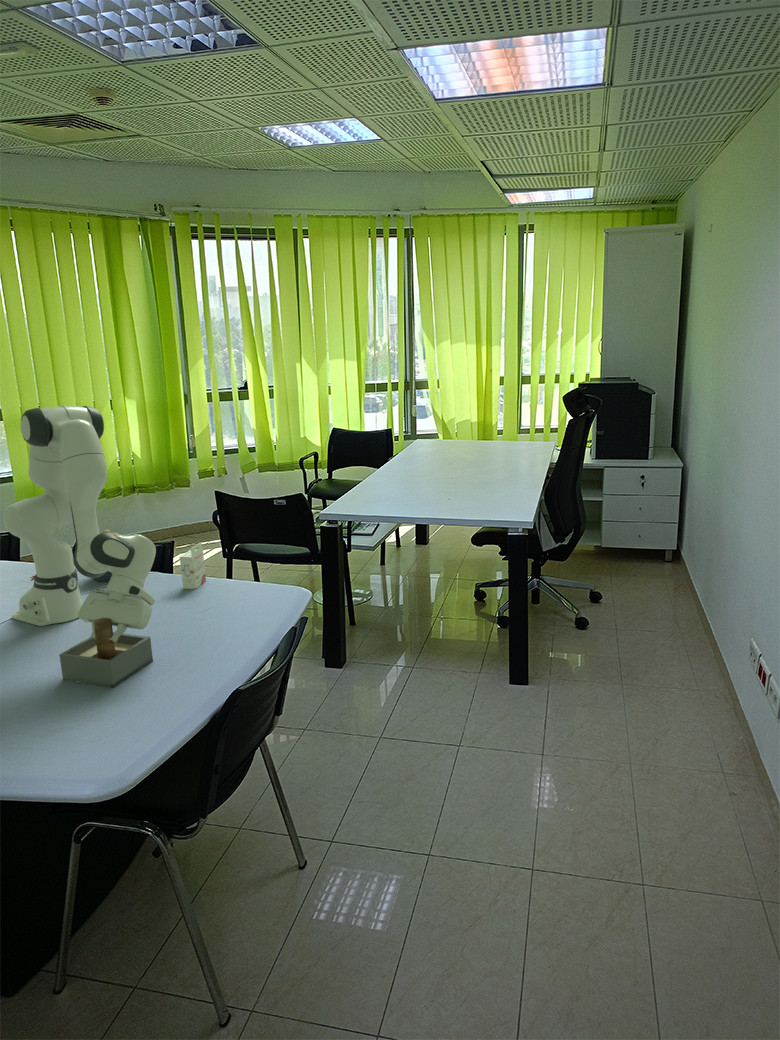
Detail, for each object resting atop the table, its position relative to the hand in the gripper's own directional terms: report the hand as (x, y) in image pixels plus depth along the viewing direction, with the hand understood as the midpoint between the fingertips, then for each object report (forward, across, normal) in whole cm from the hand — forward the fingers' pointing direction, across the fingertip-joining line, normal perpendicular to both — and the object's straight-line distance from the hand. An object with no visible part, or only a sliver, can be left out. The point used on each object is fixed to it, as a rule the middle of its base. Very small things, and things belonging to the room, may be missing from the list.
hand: (103, 640), depth 198 cm
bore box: (+6, 0, +7) cm, 9 cm away
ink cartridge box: (-39, -16, +52) cm, 67 cm away
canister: (-39, -51, +52) cm, 83 cm away
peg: (+4, 0, +5) cm, 7 cm away
